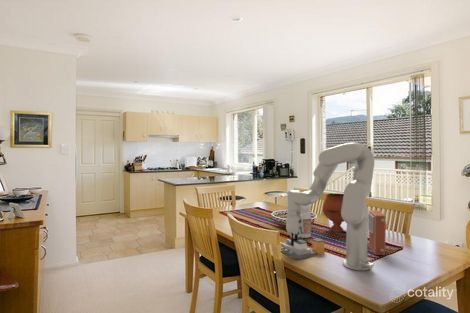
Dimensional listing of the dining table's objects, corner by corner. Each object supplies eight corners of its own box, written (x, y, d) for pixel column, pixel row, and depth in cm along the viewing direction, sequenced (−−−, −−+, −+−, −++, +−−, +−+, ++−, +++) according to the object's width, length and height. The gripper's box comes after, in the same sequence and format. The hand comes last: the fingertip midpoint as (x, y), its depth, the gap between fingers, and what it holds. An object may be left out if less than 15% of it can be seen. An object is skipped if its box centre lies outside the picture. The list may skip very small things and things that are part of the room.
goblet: (354, 229, 212) (354, 193, 211) (348, 235, 195) (348, 197, 194) (326, 225, 222) (326, 191, 221) (319, 231, 205) (319, 195, 205)
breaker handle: (306, 251, 161) (306, 241, 161) (299, 253, 159) (299, 243, 159) (300, 249, 166) (300, 239, 166) (293, 250, 163) (293, 240, 163)
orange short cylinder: (324, 252, 165) (324, 240, 165) (318, 254, 163) (318, 241, 162) (318, 250, 169) (318, 237, 169) (312, 251, 167) (312, 239, 166)
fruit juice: (293, 235, 197) (293, 192, 196) (303, 233, 202) (303, 191, 201) (303, 239, 189) (303, 194, 188) (314, 236, 194) (314, 193, 193)
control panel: (379, 246, 174) (387, 256, 160) (366, 246, 176) (373, 255, 161) (380, 210, 173) (387, 216, 159) (367, 209, 175) (373, 215, 160)
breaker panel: (315, 255, 161) (315, 248, 161) (296, 259, 155) (296, 253, 155) (289, 243, 180) (289, 237, 180) (272, 247, 174) (272, 241, 174)
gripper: (308, 214, 161) (308, 248, 162) (291, 209, 174) (291, 240, 175) (297, 216, 158) (297, 250, 158) (280, 210, 171) (280, 242, 172)
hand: (294, 245), depth 167 cm, fingers closed
